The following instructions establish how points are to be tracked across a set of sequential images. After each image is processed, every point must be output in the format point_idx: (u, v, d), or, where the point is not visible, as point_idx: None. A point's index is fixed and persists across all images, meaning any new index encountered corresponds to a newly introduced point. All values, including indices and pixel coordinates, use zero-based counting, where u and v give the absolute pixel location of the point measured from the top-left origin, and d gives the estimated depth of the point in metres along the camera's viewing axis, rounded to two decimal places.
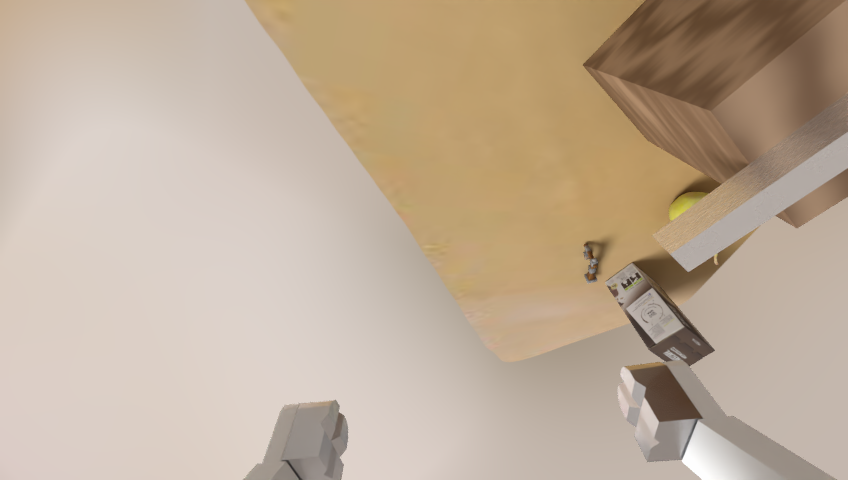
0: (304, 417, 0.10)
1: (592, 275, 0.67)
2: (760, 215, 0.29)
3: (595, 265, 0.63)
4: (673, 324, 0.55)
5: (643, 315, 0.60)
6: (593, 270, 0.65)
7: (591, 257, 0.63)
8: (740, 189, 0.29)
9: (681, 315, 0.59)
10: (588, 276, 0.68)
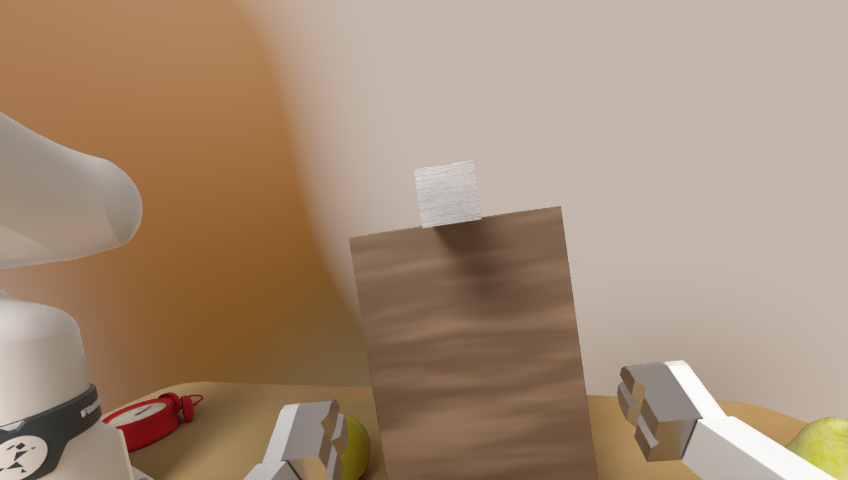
0: (304, 417, 0.10)
1: None
2: None
3: None
4: None
5: None
6: None
7: None
8: None
9: None
10: None
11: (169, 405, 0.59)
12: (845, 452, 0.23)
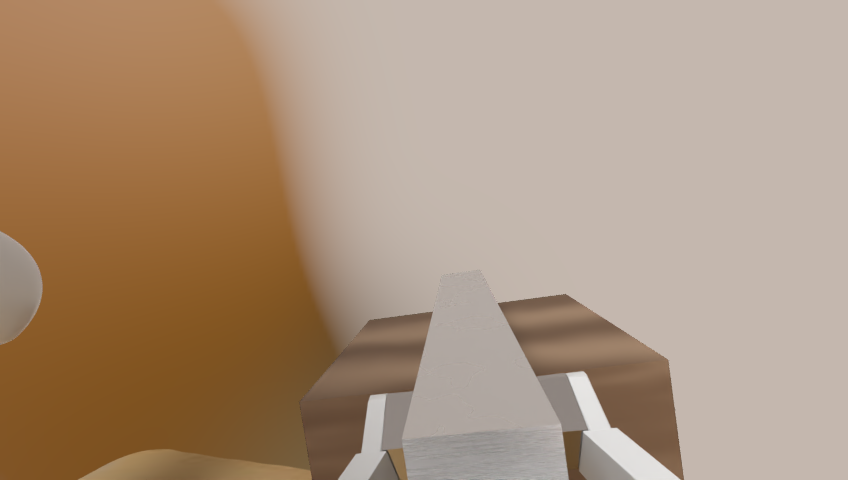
0: (395, 407, 0.10)
1: None
2: (483, 327, 0.13)
3: None
4: None
5: None
6: None
7: None
8: None
9: None
10: None
11: None
12: None
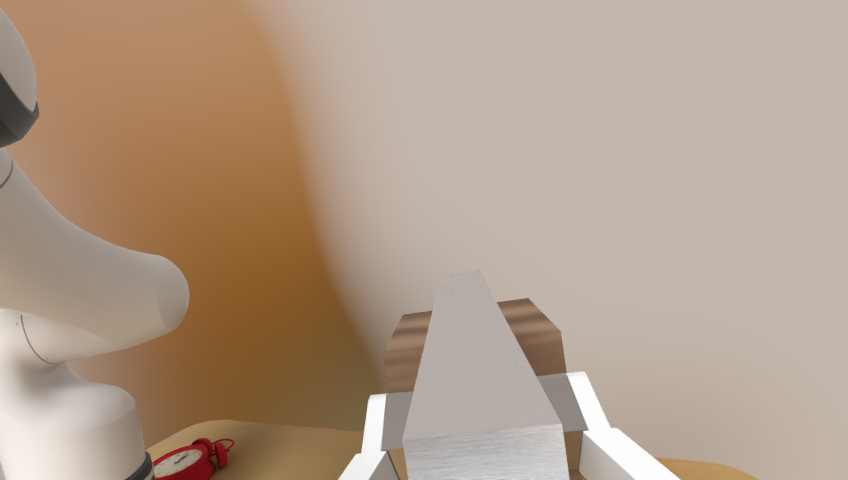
0: (395, 407, 0.10)
1: None
2: (482, 327, 0.13)
3: None
4: None
5: None
6: None
7: None
8: None
9: None
10: None
11: (205, 453, 0.64)
12: None
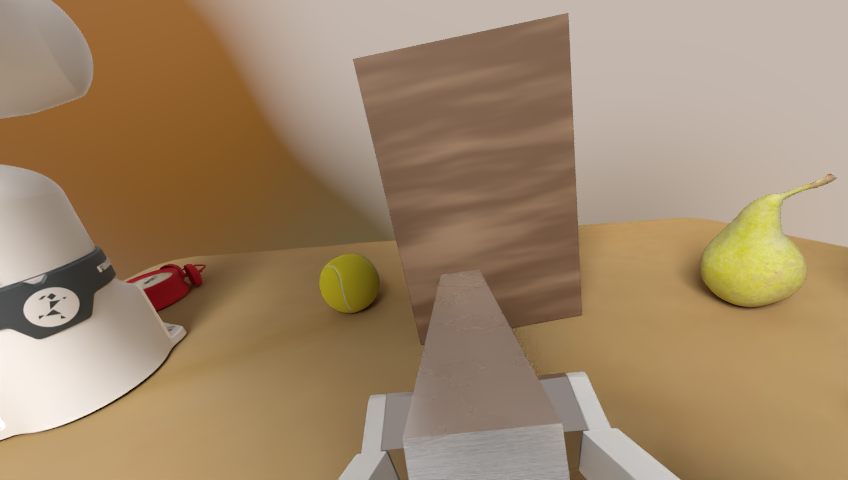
0: (395, 407, 0.10)
1: None
2: (482, 326, 0.13)
3: None
4: None
5: None
6: None
7: None
8: None
9: None
10: None
11: (176, 272, 0.61)
12: (773, 218, 0.29)
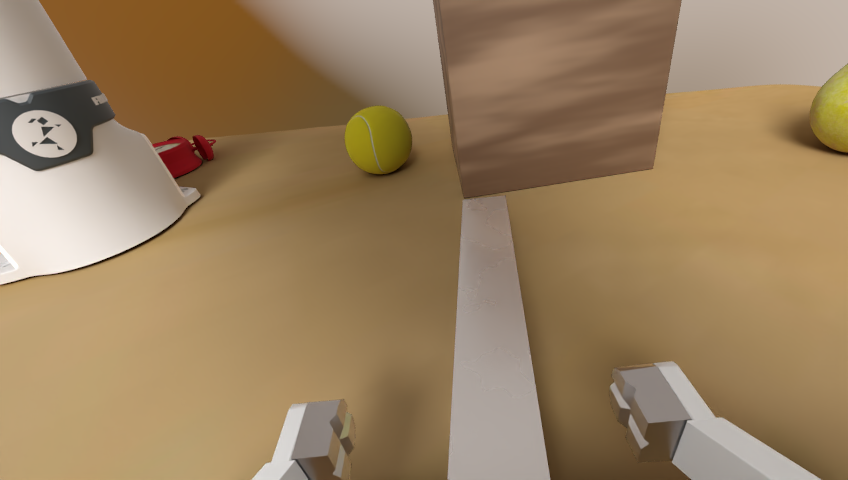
0: (312, 416, 0.10)
1: None
2: (509, 388, 0.13)
3: None
4: None
5: None
6: None
7: None
8: None
9: None
10: None
11: (185, 142, 0.56)
12: None
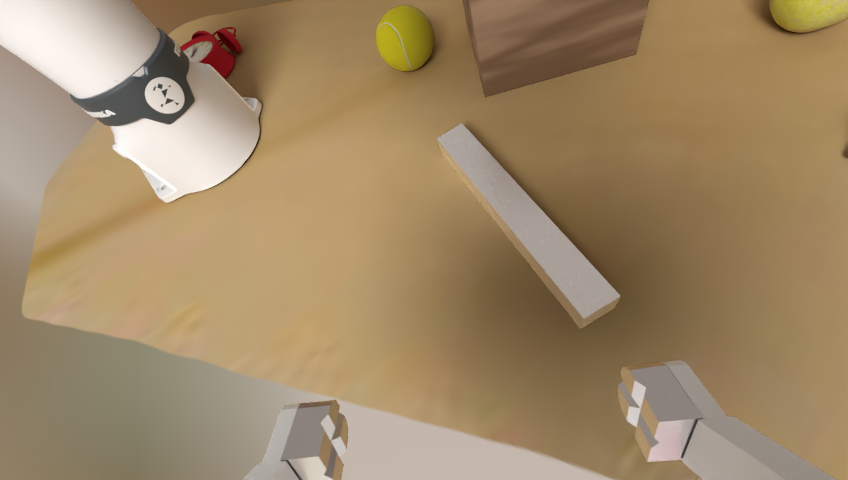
0: (304, 417, 0.10)
1: None
2: (549, 235, 0.29)
3: None
4: None
5: None
6: None
7: None
8: (524, 252, 0.30)
9: None
10: None
11: (215, 40, 0.59)
12: None
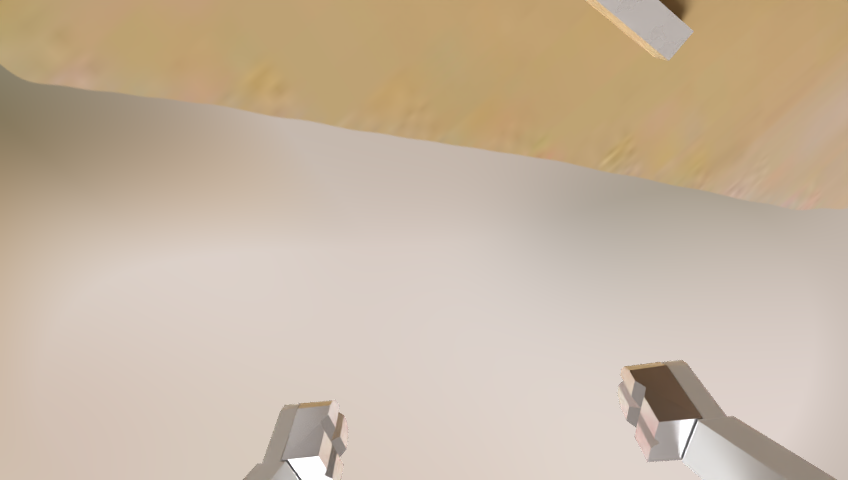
0: (304, 417, 0.10)
1: None
2: None
3: None
4: None
5: None
6: None
7: None
8: (613, 19, 0.36)
9: None
10: None
11: None
12: None
